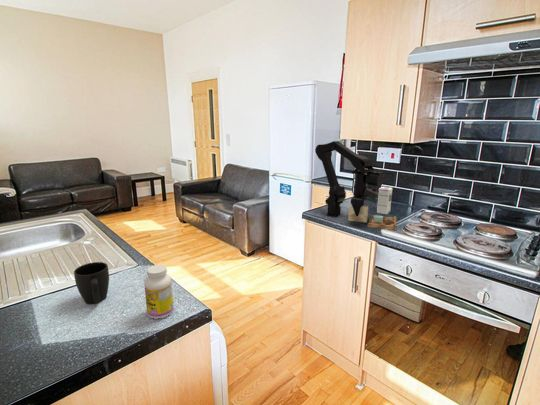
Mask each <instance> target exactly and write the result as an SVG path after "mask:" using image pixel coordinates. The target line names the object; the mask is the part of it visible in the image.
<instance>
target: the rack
mask: <svg viewBox="0 0 540 405" xmlns="http://www.w3.org/2000/svg"><path fill="white" fill-rule="evenodd" d="M373 218H374V214H373V215H372V214H370V216H369V220H368V222H367V228H371V229H372V228H373V229H381V230H387V229H388V230H387V231H396V230H397V229H396V228H397V216H395V215H394V216H393V217H388V216H383V224H375V223H371V222H372V219H373ZM385 218H391V219H392V225H385Z"/></svg>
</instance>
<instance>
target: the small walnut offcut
mask: <svg viewBox="0 0 540 405" xmlns="http://www.w3.org/2000/svg"><path fill="white" fill-rule="evenodd" d="M391 218H392V217H391ZM391 218H385V225H392V219H391Z"/></svg>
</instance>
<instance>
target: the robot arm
mask: <svg viewBox="0 0 540 405" xmlns="http://www.w3.org/2000/svg"><path fill="white" fill-rule="evenodd" d="M314 151H315V154H316V156H317V158H318V160H320V162H322V167H323V170H324V172H325V173H324V174H325V176H326V179H327V182H328V186H329V191H328V195H329V196H328V197H327V198H326V199H325V201H324V202H325V205H327V212H326V216H327V217H328V216H331V217H339V216H340V215H341V214H342V206H341V204H343V203H344V201H345V200H346V197H347V192H346V189H345V186H341V185H340V183H339V180H338V177H337V174H336V170H335V167H334V165H333V162H332V155H333V152H337V153H338V154H339V155H341V156H342V157H343V158H345V159H347V160H348V161H349V162H350V164H351V166H352V167H354V168H355V169H354V170H352V171H351V174H355V175H354V177H355V178H354V185H353V191H354V192H353V195H352V196H353V197H351V199H350V204H352V207H353V209H354V212H355V215H356V216H358V215H359V212H360V209H361V207H362V206H365V203H366V200H367V198H369V199H371V200H373V201H376V199H377V198H378V194H379V191H377V188H375V187H379V188H381V187H382V185H383V183H384V181H385V179H384V176H383V174H382V173H383V172H382V171H375V169H374V167H373V165H372V163H371V159H370V158H369V157H367V156H365V155H361V154H358V153H356V152H355V151H354V150H351V149H350V148H349V147H347V146H346V145H344V144H343V143H341V142H340V141H339V140H336V141H330V142H328V143H324V144H323V143H322V144H317V145H316V146H315V148H314ZM368 186H372V188H368Z"/></svg>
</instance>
